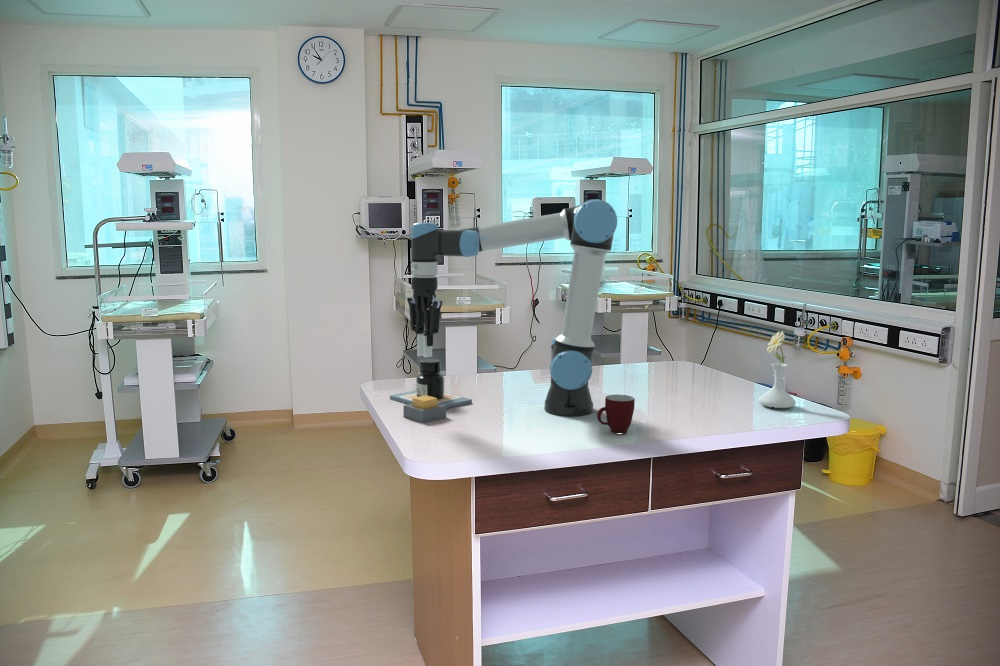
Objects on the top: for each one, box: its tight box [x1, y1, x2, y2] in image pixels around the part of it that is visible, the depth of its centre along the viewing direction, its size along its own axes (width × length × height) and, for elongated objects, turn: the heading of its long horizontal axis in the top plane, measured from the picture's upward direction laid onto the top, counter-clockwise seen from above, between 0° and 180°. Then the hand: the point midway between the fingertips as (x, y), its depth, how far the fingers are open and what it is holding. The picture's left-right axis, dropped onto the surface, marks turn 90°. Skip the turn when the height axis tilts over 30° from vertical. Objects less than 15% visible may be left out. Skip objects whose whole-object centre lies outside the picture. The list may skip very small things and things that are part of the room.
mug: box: [596, 394, 636, 434], centre depth 214 cm, size 11×8×10 cm
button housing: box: [403, 403, 447, 423], centre depth 228 cm, size 9×9×4 cm
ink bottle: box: [416, 358, 445, 399], centre depth 247 cm, size 10×9×12 cm
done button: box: [412, 395, 437, 409], centre depth 228 cm, size 5×5×4 cm
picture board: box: [389, 390, 473, 409], centre depth 248 cm, size 22×16×1 cm
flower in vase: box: [757, 330, 796, 409], centre depth 244 cm, size 13×11×25 cm
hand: (424, 356), depth 226 cm, fingers open, 2 cm apart
